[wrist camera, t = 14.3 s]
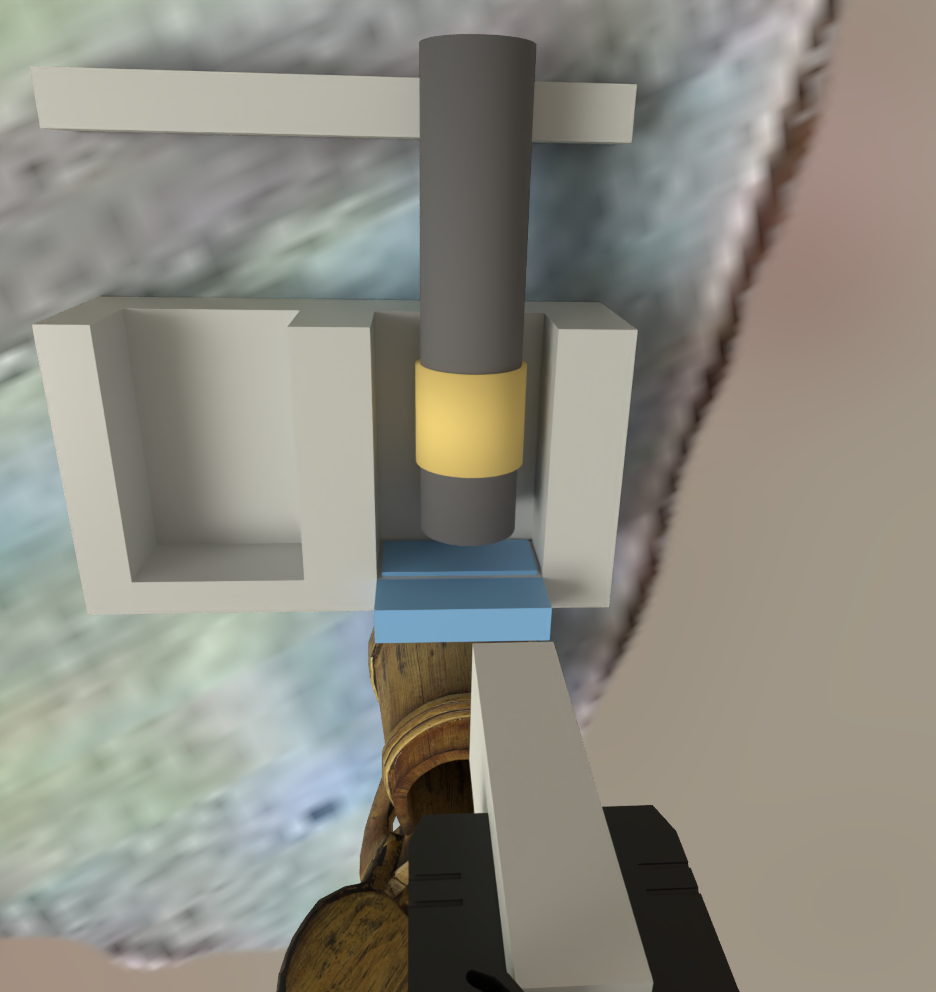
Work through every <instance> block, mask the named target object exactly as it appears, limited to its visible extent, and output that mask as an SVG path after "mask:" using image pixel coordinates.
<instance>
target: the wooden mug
mask: <svg viewBox="0 0 936 992" xmlns="http://www.w3.org/2000/svg"><path fill="white" fill-rule="evenodd" d="M536 641H537V640H535V641H477V642H419V643H375V631H374V628H373V631H372V634H371V637H370V640H369V643H368V666H369V672H370V678H371V684H372V686H373V689H374V692H375V695H376V698H377V700H378V702H379V704H380V711H381V718H382V725H383V732H384V739H385V746H384V748H383V751H382V778H381V781H380V784H379V787H378V790H377V792H376V795H375V798H374V801H373V804H372V808H371V811H370V814H369V817H368V820H367V824H366V827H365V831H364V837H363V843H362V848H361V854H360V880H361V883H360V884H355V885H350V886H344V887H343V888H341V889H339V890H337V891H335V892H333V893H331V894H329V895H327V896H325V897H324V898H322V899H320V900H319V901H318V902H317V903H316V904H315V906H314V907H313V908H312V909H311V911H310V912H309V913H308V915H307V916H306V917H305V919H304V920H303V922H302V923H301V925H300V926H299V928H298V930H297V931H296V933H295V934H294V936H293V938H292V940H291V943H290V945H289V947H288V949H287V952H286V954H285V957H284V960H283V963H282V966H281V970H280V972H279V976H278V984H277V992H408V852H409V841H410V839H411V837H412V835H413V833H414V831H415V829H416V827H417V825H418V823H419V821H420V819H421V817H422V815H437V814H466V813H474V803H473V792H472V782H471V771H470V761H469V757H470V722H471V686H472V650H473V643H515V642H536ZM396 816H397V819H398V821H399V823H400V826H399V827H398V828H397V829H396V830H395V831H393V822H394V819H395V817H396Z"/></svg>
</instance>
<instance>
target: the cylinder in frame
mask: <svg viewBox="0 0 936 992" xmlns="http://www.w3.org/2000/svg"><path fill="white" fill-rule="evenodd" d="M30 70H31V76H32V82H33V88H34V94H35V100H36V105H37V111H38V117H39V123H40V128H45V129H55V130H66V131H84V132H125V133H165V134H205V135H246V136H286V137H327V138H367V139H408V140H420V92H419V78H408V77H375V76H341V75H308V74H274V73H241V72H207V71H174V70H140V69H107V68H74V67H40V66H30ZM636 89H637V84H609V83H575V82H542V81H535V85H534V108H533V130H532V143H569V144H610V145H614V144H624V143H632V133H633V122H634V111H635V100H636ZM32 327H33V333H34V338H35V343H36V348H37V353H38V359H39V364H40V369H41V374H42V380H43V385H44V390H45V395H46V400H47V406H48V411H49V416H50V421H51V427H52V432H53V437H54V442H55V447H56V453H57V458H58V463H59V468H60V473H61V479H62V484H63V489H64V494H65V500H66V505H67V510H68V515H69V520H70V526H71V531H72V536H73V541H74V547H75V552H76V557H77V562H78V567H79V573H80V578H81V583H82V588H83V594H84V599H85V604H86V609H87V614H88V615H101V614H170V613H239V612H308V611H374V631H375V643H419V642H477V641H535V640H550V628H551V614H552V608H583V607H609V602H610V592H611V583H612V573H613V563H614V554H615V544H616V534H617V525H618V515H619V506H620V496H621V486H622V477H623V467H624V457H625V448H626V438H627V428H628V419H629V409H630V399H631V390H632V380H633V371H634V361H635V351H636V342H637V332H638V330H637V329H636V328H634V327H633V326H632V325H630V324H629V323H628V322H626V321H625V320H624V319H622V318H621V317H620V316H618V315H617V314H616V313H614V312H613V311H611V310H610V309H609V308H607V307H606V306H605V305H603V304H602V303H601V302H544V301H525V309H524V332H523V354H522V360H523V361H525V362H526V363H527V378H526V399H525V421H524V442H523V463H522V465H521V466H520V467H519V468H518V469H517V489H516V511H515V530H514V532H513V534H512V535H511V536H510V537H508V538H507V539H505V540H503V541H500V542H497V543H493V544H489V545H482V546H458V545H451V544H446V543H442V542H439V541H436V540H433V539H431V538H430V537H428V536H427V535H425V534H424V533H423V531H422V529H421V467H420V466H419V465H418V464H417V462H416V404H415V362H416V360H418V359H420V300H368V299H280V298H191V297H103V296H99V297H96V298H94V299H92V300H89V301H87V302H84V303H82V304H80V305H77V306H75V307H73V308H70V309H68V310H65V311H63V312H61V313H58V314H56V315H53V316H51V317H49V318H46V319H44V320H41V321H39V322H37V323H34V324H32Z"/></svg>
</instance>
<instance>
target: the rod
mask: <svg viewBox="0 0 936 992" xmlns="http://www.w3.org/2000/svg"><path fill="white" fill-rule="evenodd" d="M535 63H536V43H534V42H532V41H530V40H526V39H522V38H517V37H510V36H501V35H485V34H458V35H443V36H435V37H430V38H426V39H423V40H421V41H420V42H419V92H420V359H418V360H416V362H415V404H416V462H417V464H418V465H419V466H420V467H421V529H422V531H423V533H424V534H425V535H427V536H428V537H430V538H431V539H433V540H436V541H439V542H442V543H446V544H451V545H458V546H482V545H489V544H493V543H497V542H500V541H503V540H505V539H507V538H508V537H510V536H511V535H512V534H513V532H514V530H515V511H516V489H517V469H518V468H519V467H520V466H521V465H522V463H523V442H524V421H525V399H526V378H527V363H526V362H525V361H523V360H522V354H523V332H524V309H525V287H526V265H527V242H528V220H529V197H530V175H531V153H532V130H533V108H534V85H535Z"/></svg>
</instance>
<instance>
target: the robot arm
mask: <svg viewBox="0 0 936 992" xmlns="http://www.w3.org/2000/svg"><path fill="white" fill-rule="evenodd" d="M469 761H470V771H471V782H472V792H473V803H474V813H466V814H437V815H422V817H421V819H420V821H419V823H418V825H417V827H416V829H415V831H414V833H413V835H412V837H411V839H410V841H409V852H408V992H740V991H739V989H738V988H737V985H736V982H735V980H734V977H733V975H732V972H731V969H730V967H729V964H728V962H727V959H726V957H725V954H724V952H723V949H722V946H721V944H720V941H719V939H718V936H717V934H716V931H715V929H714V926H713V924H712V921H711V918H710V916H709V913H708V911H707V908H706V906H705V903H704V901H703V898H702V896H701V894H699V892H698V886H697V883H696V880H695V878H694V875H693V873H692V870H691V868H689V866H688V860H687V857H686V855H685V852H684V850H683V847H682V845H681V842H680V840H679V837H678V835H677V832H676V830H675V829H674V828H673V827H672V826H671V825H670V824H669V823H668V822H667V820H666V819H665V818H664V817H663V816H662V815H661V814H660V813H659V812H658V811H657V809H656V808H655V807H654V806H653V805H644V806H643V805H640V806H615V807H614V806H612V807H602V806H601V802H600V799H599V795H598V792H597V789H596V785H595V782H594V778H593V775H592V772H591V768H590V765H589V761H588V758H587V754H586V751H585V748H584V744H583V741H582V737H581V734H580V731H579V727H578V724H577V720H576V717H575V714H574V710H573V707H572V703H571V700H570V697H569V693H568V690H567V686H566V683H565V679H564V676H563V673H562V669H561V666H560V662H559V659H558V656H557V652H556V649H555V645H554V642H515V643H473V650H472V686H471V722H470V757H469Z"/></svg>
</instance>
